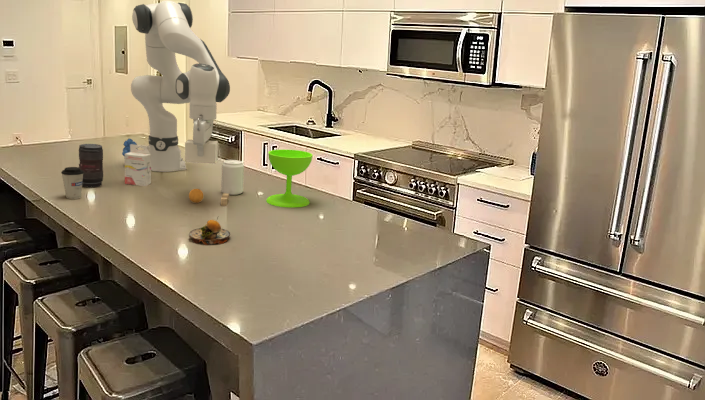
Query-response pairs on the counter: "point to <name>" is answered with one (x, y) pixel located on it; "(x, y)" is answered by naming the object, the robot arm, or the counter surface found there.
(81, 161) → the camera lens
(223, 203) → the oak stop strip
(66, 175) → the coffee cup
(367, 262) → the counter surface
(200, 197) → the ball
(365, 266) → the counter surface
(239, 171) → the beverage can
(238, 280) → the counter surface
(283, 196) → the wineglass
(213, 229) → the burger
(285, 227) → the counter surface
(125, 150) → the grapes
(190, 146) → the matte white cuboid
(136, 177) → the ink cartridge box
